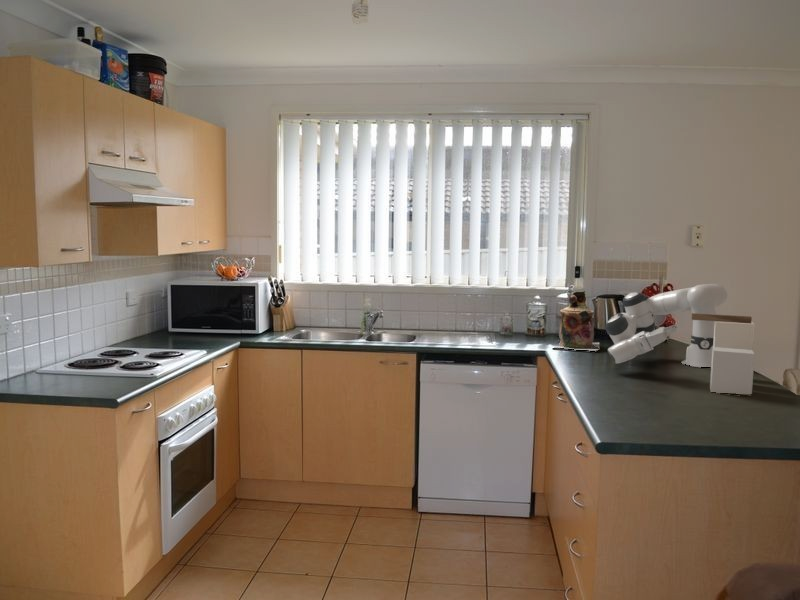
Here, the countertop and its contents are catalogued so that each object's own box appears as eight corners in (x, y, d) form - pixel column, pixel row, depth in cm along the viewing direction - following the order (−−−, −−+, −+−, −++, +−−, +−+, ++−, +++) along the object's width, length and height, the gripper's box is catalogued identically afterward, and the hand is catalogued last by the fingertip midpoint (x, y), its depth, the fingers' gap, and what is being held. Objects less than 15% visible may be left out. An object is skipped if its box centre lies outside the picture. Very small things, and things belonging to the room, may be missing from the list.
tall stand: (710, 380, 277) (714, 319, 274) (748, 383, 271) (752, 321, 269) (711, 384, 267) (716, 322, 265) (750, 388, 262) (754, 324, 260)
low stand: (709, 387, 262) (712, 347, 261) (749, 391, 257) (752, 350, 255) (710, 392, 253) (713, 350, 252) (751, 396, 248) (754, 353, 246)
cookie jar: (554, 343, 370) (557, 287, 367) (599, 346, 363) (602, 289, 360) (550, 350, 347) (553, 290, 344) (599, 353, 339) (602, 292, 336)
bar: (691, 318, 275) (692, 313, 274) (750, 322, 266) (750, 316, 266) (691, 319, 272) (692, 313, 272) (751, 323, 263) (751, 317, 263)
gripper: (649, 344, 290) (679, 331, 285) (647, 351, 271) (679, 337, 266) (642, 332, 291) (672, 318, 285) (640, 338, 272) (672, 323, 267)
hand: (676, 327), depth 276 cm, fingers open, 8 cm apart
